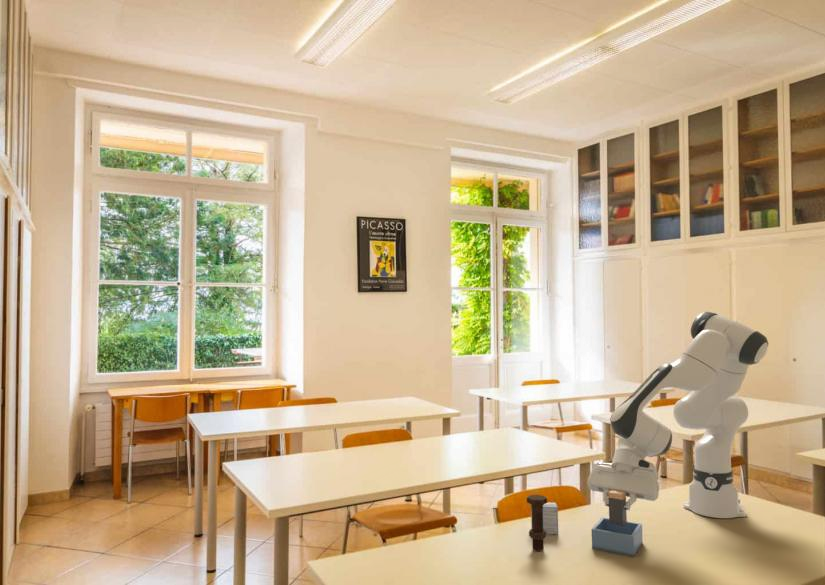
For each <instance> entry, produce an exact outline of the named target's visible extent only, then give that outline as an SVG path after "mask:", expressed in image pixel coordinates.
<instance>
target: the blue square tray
mask: <svg viewBox="0 0 825 585" xmlns="http://www.w3.org/2000/svg"><path fill="white" fill-rule="evenodd" d="M643 541H644V540H643V523H638V522H635V521H634V522H633V521H628V520H627V524H625V525H624V526H619V525H614V524H609V517H601V518H600V519H599V520H598V521H597V523H596V524H594V526H593V527H592V528H591V549H592V550H595V549H597V550H596V551H600V550H602V551H601V552H606V551H607V553H612V554H617V555H622V556H627V557H631V558H635V556H636V554H637V553H638V552H639V550H640V548H641V546H642V545H643Z"/></svg>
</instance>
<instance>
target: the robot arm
mask: <svg viewBox="0 0 825 585" xmlns="http://www.w3.org/2000/svg"><path fill="white" fill-rule="evenodd" d="M690 335H691V338H692V340H691V341H690V342H689V344H687V346H686V347H685V349H684V351H683V352H682V353H681V354H680V356H679V357H678V358H677V359H675V361H673V362H671V363H663V364H662V365H660V366H658V367H657V368H656V369H655V370H654V371H653V372H652V373H650V375H649V376H648V377H647V378H646V379H645V380H644V381H643V382H642V383H641V384H640V386H639V387H637V389H636V390H634V392H633V393H632V394H631V395H630V396H629V397H628V398H627V399H626V400H624V402H622V403H621V404H620V405H619V406H617V408H615V409H614V411H613V412H612V413H611V416H610V421H609V422H610V425H611V426H610V427H611V429H612V431H613V433H614V434H615V435H618V440H617V448H616V449H615V452H614V455H613V457H612V458H613V459H612V462H611V463H609V462H601V461H599V462H596V463H595V464H593V465H592V468H591V472H590V474H589V476H588V478H587V481H586V482H587V485H588V487H589V489H590V491H592V492H598V493H603V495H604V498H605V500H604V505H605V507H609V497H608V492H609V491H611V490H616V491H622V492H626V498H629V499H627V500H626V501H624V505H623V508H624V509H625V510H626V511H630V510H631V508H632V507H631V506H632V505H634V504H635V503H636V502H637V499H640V500H644V501H646V500H647V501H651V502H655V501H656V500H658V498H659V492H660V483H659V481H658V480H659V473H658V470H657V468H656V466H655V465H654V463H653V462H650V461H648V460H646V459H645V458H646V457H649V458H653V457H658V456H662V455H665V454H666V453H668V451H669V450H670V448H671V446H672V442H673V433H672V431H671V429H670V428H669V427H667V426H666V425H664V424H663V423H661V422H660V421H658V420H657V419H655V418H653V417H652V416H650V415H649V414H647V413H646V412H644V411H643V410H644V408H645V407H646V406H647V405H648V403H649V402H651V400H653V398H654V397H655V396H656V395H657V394H658V393H659V392H660V391H661V390H664V389H665V388H674V389H680V390H684V391H690V392H689V393H688V394H686V395H685V396H684V397H682V398H680V399H679V400H677V401H676V402H675V404H674V405H673V417H674V420H675V421H676V423H677V424H678V425H679V426H680V427H681V428H684V429H689V430H698V431H699V430H705V431H704V434H703V435H702V436H701V438H700V439H698V440H697V441H696V442H695V444H694V445H693V455H694V456H693V457H694V467H693V470H692V475H693V481H691V482H690V483H689V485H688V489H689V490H688V501H686V502H685V503H684V504H683V508H684V509H686V510H689V511H691V512H693V513H695V514H698V515H700V516H705V517H707V518H708V517H709V518H714V519H715V518H716V519H732V518H740V517H741V518H742V517H747V513H746V511H745V509H744V507H743V505H742V504H741V499H739V490H738V489H737V487H736V486H735V485H734V474H733V471H732V461H731V460H732V459H731V458H732V456H731V455H732V446H733V442H734V438H735V436H736V434H737V433H738V431H739V429H740V428H741V427H742V425H744V424H745V423H746V422H747V420H748V417H749V408H748V405H747V404H746V401H744V400H743V399H742V398H741V397H739V396H735V394H737V393H738V392H739V391H740V390H741V387H742V384H743V382H744V379H745V378H746V374H747V372H748V370H749V366H752V365H756V364H758V363H760V361H761V360H762V359H763V358H764V357H765V356H766V354H767V353H768V348H769V342H768V341H769V340H768V338H767V337H766V336H765V335H764V334H763V333H761V332H759V331H758V330H755V329H752V328H751V327H749V326H747V325H746V324H743V323H741V322H739V321H737V320H736V321H735V320H733V319H730V318H728V317H724V316H721V315H719V314H717V313H716V312H715V313H714V312H710V311H705V312H702V313H700V314H698V315H697V316H696V317H695V319H694V321H692V323H691V326H690Z"/></svg>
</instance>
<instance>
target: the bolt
mask: <svg viewBox="0 0 825 585" xmlns="http://www.w3.org/2000/svg"><path fill="white" fill-rule="evenodd" d="M547 502H548V498H547V497H546V496H545V495H542V494H529V495H527V497H526V503H528V504H530V510H531V509H532V526H531V528H530V529H529V531H528V536H529V537H530V538H531V540H532V549H533V550H534V551H536V552H542V551H544V545H545V544H544V543H545V541H544V540H545V539H546V537H547V536H548V534H547V533H546V531H545V530H544V529H543V505H544V504H546V503H547Z"/></svg>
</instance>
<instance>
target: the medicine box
mask: <svg viewBox="0 0 825 585" xmlns="http://www.w3.org/2000/svg"><path fill="white" fill-rule="evenodd" d="M558 508H559V507H558V505H557V503H556V502H550V501H549V502H548V501H547V503H546V504H544V505H543V529H544V530H545V531H546V533H547V535H553V534H558V535H559V534H560V533H559V509H558ZM530 517H531V520H530V521H531V526H530V527H532V509H531V508H530Z"/></svg>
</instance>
